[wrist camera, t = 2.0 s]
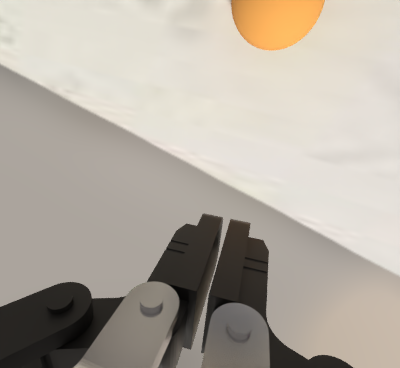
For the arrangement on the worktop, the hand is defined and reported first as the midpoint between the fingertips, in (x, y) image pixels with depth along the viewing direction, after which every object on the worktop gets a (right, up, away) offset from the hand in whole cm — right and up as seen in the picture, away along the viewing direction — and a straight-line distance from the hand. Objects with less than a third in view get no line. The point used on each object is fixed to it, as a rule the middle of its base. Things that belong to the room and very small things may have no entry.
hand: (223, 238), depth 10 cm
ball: (+4, +14, +8) cm, 17 cm away
